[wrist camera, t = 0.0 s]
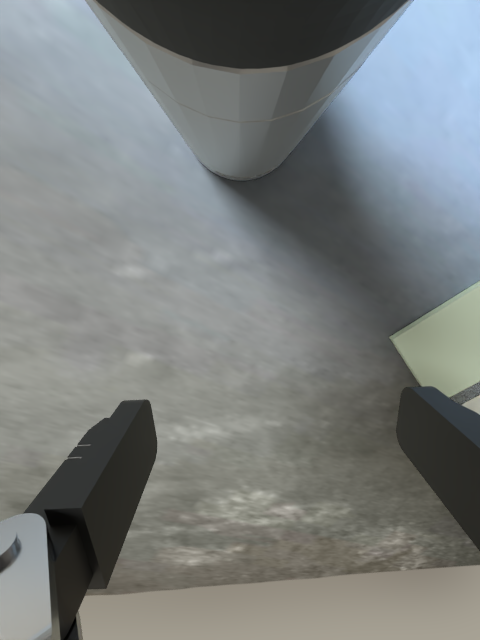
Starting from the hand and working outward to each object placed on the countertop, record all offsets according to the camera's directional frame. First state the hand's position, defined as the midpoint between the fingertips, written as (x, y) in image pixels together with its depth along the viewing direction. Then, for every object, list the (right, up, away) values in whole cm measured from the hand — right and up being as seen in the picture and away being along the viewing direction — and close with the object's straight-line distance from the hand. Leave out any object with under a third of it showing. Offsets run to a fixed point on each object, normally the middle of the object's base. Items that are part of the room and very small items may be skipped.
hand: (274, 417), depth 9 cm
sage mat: (+22, +2, +18) cm, 29 cm away
